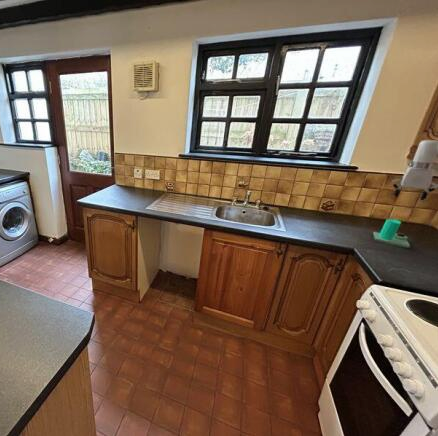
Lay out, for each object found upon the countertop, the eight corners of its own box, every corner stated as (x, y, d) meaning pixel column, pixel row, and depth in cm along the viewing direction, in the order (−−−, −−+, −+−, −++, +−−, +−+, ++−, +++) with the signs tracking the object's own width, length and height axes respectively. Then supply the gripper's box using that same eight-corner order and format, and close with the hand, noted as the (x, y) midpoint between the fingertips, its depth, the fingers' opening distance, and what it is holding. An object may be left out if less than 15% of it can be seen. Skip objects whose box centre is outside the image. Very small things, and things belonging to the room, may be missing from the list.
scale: (404, 240, 139) (406, 235, 138) (409, 248, 130) (411, 243, 129) (372, 233, 147) (374, 229, 146) (374, 240, 138) (376, 235, 137)
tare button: (403, 236, 138) (404, 233, 138) (404, 237, 136) (405, 235, 135) (396, 234, 140) (397, 231, 139) (397, 236, 138) (398, 233, 137)
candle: (390, 236, 139) (400, 217, 135) (393, 241, 135) (404, 221, 130) (377, 234, 142) (386, 215, 137) (380, 238, 137) (389, 218, 133)
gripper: (399, 165, 125) (387, 197, 131) (449, 168, 115) (434, 202, 121) (397, 163, 130) (385, 194, 137) (444, 166, 121) (430, 199, 127)
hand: (408, 198), depth 129 cm, fingers open, 9 cm apart
